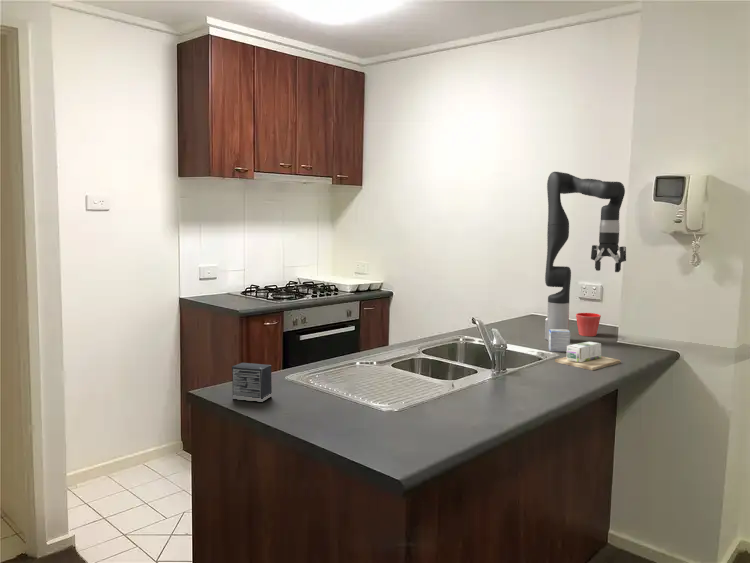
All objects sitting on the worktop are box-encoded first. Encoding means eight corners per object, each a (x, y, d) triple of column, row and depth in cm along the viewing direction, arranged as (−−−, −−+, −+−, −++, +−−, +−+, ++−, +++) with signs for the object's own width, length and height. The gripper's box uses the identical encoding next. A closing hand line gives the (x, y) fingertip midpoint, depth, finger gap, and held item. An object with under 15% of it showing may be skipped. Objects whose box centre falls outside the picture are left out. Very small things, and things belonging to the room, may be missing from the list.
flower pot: (589, 338, 281) (589, 317, 280) (570, 334, 291) (571, 313, 290) (604, 335, 287) (605, 315, 286) (586, 332, 296) (586, 312, 295)
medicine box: (567, 349, 257) (568, 329, 256) (569, 352, 253) (570, 331, 252) (548, 349, 258) (548, 328, 257) (550, 351, 254) (550, 331, 253)
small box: (273, 397, 190) (272, 364, 189) (262, 403, 184) (261, 369, 183) (243, 394, 193) (242, 361, 192) (231, 400, 187) (230, 366, 186)
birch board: (554, 362, 236) (555, 359, 236) (583, 355, 247) (583, 352, 247) (592, 370, 223) (592, 367, 223) (620, 362, 235) (620, 360, 235)
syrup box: (588, 355, 243) (566, 361, 234) (588, 340, 242) (566, 345, 233) (601, 357, 238) (579, 363, 229) (601, 342, 238) (579, 347, 229)
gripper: (588, 231, 252) (586, 270, 254) (620, 232, 241) (618, 273, 243) (598, 230, 257) (597, 269, 259) (630, 231, 246) (628, 272, 248)
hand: (607, 271), depth 251 cm, fingers open, 8 cm apart
